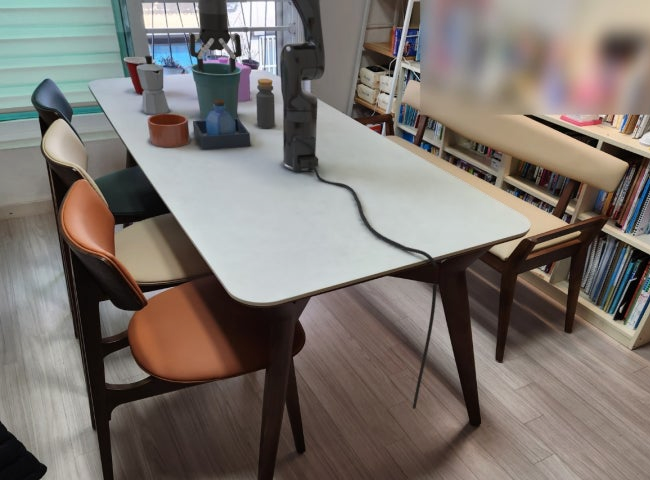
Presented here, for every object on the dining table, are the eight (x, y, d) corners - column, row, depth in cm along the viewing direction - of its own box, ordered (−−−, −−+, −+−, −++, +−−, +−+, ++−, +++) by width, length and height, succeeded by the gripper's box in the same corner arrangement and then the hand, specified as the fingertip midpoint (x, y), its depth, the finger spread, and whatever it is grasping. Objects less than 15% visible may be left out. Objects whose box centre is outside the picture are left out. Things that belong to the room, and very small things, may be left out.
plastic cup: (166, 93, 199) (162, 59, 192) (142, 98, 191) (136, 63, 184) (147, 86, 203) (142, 53, 196) (122, 91, 195) (116, 57, 189)
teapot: (182, 95, 199) (178, 55, 191) (242, 88, 213) (240, 51, 205) (201, 106, 189) (197, 65, 182) (261, 98, 204) (260, 60, 196)
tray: (250, 146, 162) (249, 133, 160) (202, 149, 156) (201, 136, 154) (239, 130, 173) (238, 118, 170) (193, 133, 167) (192, 120, 165)
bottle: (276, 124, 181) (276, 79, 172) (272, 129, 176) (271, 83, 168) (260, 122, 181) (258, 77, 173) (255, 127, 176) (253, 81, 168)
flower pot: (234, 107, 192) (231, 61, 183) (251, 121, 181) (249, 73, 172) (188, 111, 184) (183, 63, 175) (203, 126, 173) (199, 75, 164)
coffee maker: (176, 114, 180) (170, 59, 170) (151, 118, 174) (143, 61, 164) (157, 102, 188) (150, 49, 178) (133, 106, 183) (124, 51, 173)
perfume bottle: (223, 134, 168) (221, 96, 161) (236, 140, 165) (233, 101, 158) (207, 138, 164) (203, 99, 157) (219, 144, 161) (216, 105, 154)
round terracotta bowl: (192, 145, 158) (190, 124, 154) (153, 148, 154) (149, 126, 150) (186, 133, 166) (184, 112, 163) (148, 135, 162) (145, 114, 158)
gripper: (188, 12, 139) (194, 75, 148) (242, 13, 144) (244, 74, 153) (183, 7, 144) (189, 68, 153) (235, 9, 150) (238, 68, 159)
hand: (217, 71), depth 153 cm, fingers open, 8 cm apart
